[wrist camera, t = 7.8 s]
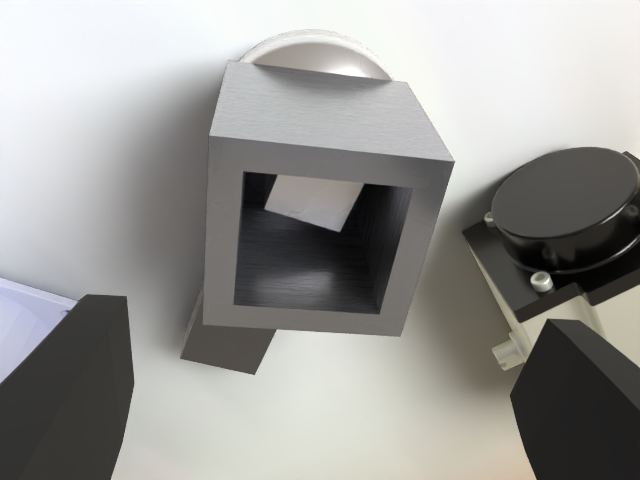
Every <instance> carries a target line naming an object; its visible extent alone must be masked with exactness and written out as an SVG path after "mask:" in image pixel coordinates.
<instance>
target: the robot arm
mask: <svg viewBox="0 0 640 480" xmlns="http://www.w3.org/2000/svg"><path fill="white" fill-rule="evenodd" d="M65 310H70V311H69V312H66V311H65ZM133 388H134V373H133V362H132V351H131V340H130V330H129V319H128V308H127V297H126V296H109V295H90V294H87V295H85V296H84V297H83V298H82V299H80V300H79V301H75V300H72V299H69V298H66V297H62V296H59V295H56V294H52V293H49V292H46V291H42V290H39V289H36V288H33V287H29V286H26V285H23V284H19V283H16V282H13V281H9V280H6V279H3V278H0V480H111V477H112V474H113V470H114V467H115V464H116V461H117V458H118V455H119V452H120V448H121V445H122V442H123V437H124V432H125V428H126V423H127V418H128V413H129V408H130V403H131V398H132V393H133ZM510 398H511V402H512V406H513V410H514V414H515V418H516V422H517V425H518V429H519V432H520V436H521V439H522V442H523V446H524V449H525V452H526V454H527V457H528V459H529V462H530V464H531V467H532V469H533V472H534V474H535V476H536V479H537V480H640V367H638V366H637V365H636V364H635V363H634V362H632V361H631V360H630V359H629V358H628V357H626V356H625V355H624V354H623V353H621V352H620V351H619V350H618V349H616V348H615V347H614V346H613V345H612V344H610V343H609V342H608V341H606V340H605V339H604V338H603V337H601V336H600V335H599V334H598V333H596V332H595V331H594V330H592V329H591V328H590V327H588V326H587V325H585V324H584V323H583V322H581V321H580V320H569V319H550V318H547V320H546V322H545V324H544V326H543V328H542V330H541V332H540V334H539V336H538V338H537V340H536V342H535V344H534V347H533V349H532V351H531V353H530V355H529V357H528V359H527V361H526V363H525V365H524V367H523V369H522V371H521V373H520V375H519V377H518V379H517V381H516V383H515V386H514V388H513V390H512V392H511V394H510Z"/></svg>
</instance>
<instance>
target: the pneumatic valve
mask: <svg viewBox="0 0 640 480" xmlns="http://www.w3.org/2000/svg"><path fill="white" fill-rule="evenodd" d="M462 234H463V236H464V238H465V240H466V242H467V244H468V246H469V248H470V250H471V252H472V254H473V255H474V257H475V259H476V261H477V263H478V265H479V267H480V269H481V271H482V273H483V275H484V277H485V279H486V281H487V283H488V285H489V287H490V289H491V291H492V293H493V294H494V296H495V298H496V300H497V302H498V304H499V306H500V308H501V310H502V312H503V314H504V316H505V318H506V320H507V322H508V324H509V326H510V328H511V330H512V332H510V333H509V336H510V338H511V339H510V340H508V341H506V342H504V343H502V344H500V345H498V346H495V347H493V348H492V351H493V353H494V355H495V357H496V359H497V360H498V362H499V364H500V366H501V368H502V369H503V370H504V371H506V370H508V369H510V368H512V367H515V366H517V365H519V364H521V363H523V362H524V363H526V361H527V359H528V357H529V355H530V353H531V351H532V349H533V347H534V344H535V342H536V340H537V338H538V336H539V334H540V332H541V330H542V328H543V326H544V324H545V322H546V320H547V318H550V319H569V320H580V321H581V322H583V323H584V324H585V325H587V326H588V327H590V328H591V329H592V330H594V331H595V332H596V333H598V334H599V335H600V336H601V337H603V338H604V339H605V340H606V341H608V342H609V343H610V344H612V345H613V346H614V347H615V348H616V349H618V350H619V351H620V352H621V353H623V354H624V355H625V356H626V357H628V358H629V359H630V360H631V361H632V362H634V363H635V364H636V365H637V366H638V367H640V160H639V159H638V158H636V157H635V156H633V155H632V154H630V153H629V152H627V151H626V152H624V153H619V152H617V151H614V150H610V149H607V148H599V147H578V148H571V149H566V150H561V151H558V152H554V153H551V154H548V155H545V156H543V157H540V158H538V159H536V160H534V161H532V162H530V163H528V164H526V165H524V166H523V167H521V168H520V169H518V170H517V171H516V172H514V173H513V174H512V175H511V176H509V177H508V178H507V179H506V180H505V181H504V182H503V183H502V185H501V186H500V187H499V189H498V190H497V192H496V193H495V196H494V198H493V201H492V205H491V211H490V212H488V213H486V214H485V216H484V220H483V221H481V222H479V223H477V224H475V225H473V226H471V227H469V228H468V229H466V230H464V231H463V232H462Z"/></svg>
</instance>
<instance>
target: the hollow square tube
mask: <svg viewBox="0 0 640 480" xmlns="http://www.w3.org/2000/svg"><path fill="white" fill-rule="evenodd" d="M454 163H455V161H454V159H453V157H452V156H451V154H450V153H449V151H448V149H447V148H446V146H445V144H444V143H443V141H442V139H441V138H440V136H439V134H438V133H437V131H436V129H435V128H434V126H433V125H432V123H431V121H430V120H429V118H428V116H427V115H426V113H425V111H424V110H423V108H422V106H421V105H420V103H419V101H418V100H417V98H416V97H415V95H414V93H413V92H412V90H411V88H410V87H409V85H408V83H407V82H399V81H391V80H383V79H375V78H367V77H359V76H351V75H343V74H335V73H327V72H319V71H311V70H303V69H295V68H287V67H279V66H271V65H263V64H255V63H247V62H239V61H231V60H228V62H227V66H226V70H225V74H224V78H223V82H222V86H221V90H220V94H219V98H218V102H217V106H216V110H215V113H214V117H213V121H212V125H211V129H210V133H209V150H208V180H207V211H206V241H205V272H204V302H203V325H214V326H231V327H248V328H265V329H281V330H298V331H315V332H332V333H349V334H365V335H382V336H399V337H400V336H401V333H402V330H403V326H404V323H405V320H406V317H407V314H408V310H409V307H410V304H411V301H412V298H413V294H414V291H415V288H416V285H417V281H418V278H419V275H420V272H421V269H422V265H423V262H424V259H425V256H426V253H427V249H428V246H429V243H430V240H431V237H432V233H433V230H434V227H435V224H436V221H437V217H438V214H439V211H440V208H441V205H442V201H443V198H444V195H445V192H446V189H447V185H448V182H449V179H450V176H451V173H452V169H453V166H454ZM246 171H247V172H257V173H267V174H277V175H288V176H298V177H308V178H318V179H328V180H338V181H349V182H359V183H364V185H363V187H362V189H361V191H360V193H359V195H358V200H357V205H356V209H355V210H351V211H350V213H349V215H348V217H347V219H346V221H345V223H344V225H343V227H342V229H341V231H340V232H338V231H334V230H331V229H328V228H325V227H321V226H318V225H315V224H311V223H308V222H305V221H302V220H298V219H295V218H292V217H289V216H285V215H282V214H279V213H276V212H272V211H269V210H266V209H264V202H261V201H250V200H244V188H245V175H246Z"/></svg>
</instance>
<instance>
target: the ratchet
mask: <svg viewBox="0 0 640 480" xmlns="http://www.w3.org/2000/svg"><path fill="white" fill-rule="evenodd" d="M239 62H247V63H255V64H263V65H271V66H279V67H287V68H295V69H303V70H311V71H319V72H327V73H335V74H343V75H351V76H359V77H367V78H375V79H383V80H391V81H394V79H393V77H392V76H391V74H390V72H389V71H388V69H387V67H386V66H385V65H384V64H383V63H382V61H381V60H380V59H379V58H378V57H377V56H376V55H375V54H374V53H373V52H372V51H370V50H369V49H368V48H366V47H365V46H364V45H362V44H361V43H359V42H357V41H355V40H353V39H351V38H349V37H347V36H344V35H341V34H338V33H335V32H330V31H324V30H311V29H307V30H296V31H291V32H287V33H282V34H279V35H277V36H274V37H272V38H269V39H267V40H265V41H264V42H262V43H260V44H258V45H257V46H255V47H254V48H253V49H251V50H250V51H248V52H247V53H246V54H245V55H244V56H243V57H242V58H241V59H240V60H239ZM363 185H364V183H359V182H349V181H338V180H328V179H318V178H308V177H298V176H288V175H277V174H267V173H257V172H247V171H246V175H245V188H244V200H250V201H261V202H264V209H266V210H269V211H272V212H276V213H279V214H282V215H285V216H289V217H292V218H295V219H298V220H302V221H305V222H308V223H311V224H315V225H318V226H321V227H325V228H328V229H331V230H334V231H338V232H340V231H341V229H342V227H343V225H344V223H345V221H346V219H347V217H348V215H349V213H350V211H351V210H355V209H356V205H357V200H358V195H359V193H360V191H361V189H362V187H363ZM203 302H204V281H203V284H202V287H201V289H200V292H199V295H198V298H197V300H196V303H195V306H194V309H193V311H192V314H191V317H190V320H189V322H188V325H187V328H186V331H185V336H184V341H183V346H182V351H181V357H180V359H184V360H189V361H193V362H198V363H203V364H207V365H212V366H216V367H221V368H225V369H230V370H234V371H239V372H243V373H248V374H253V375H255V373H256V371H257V369H258V367H259V365H260V363H261V361H262V359H263V357H264V355H265V353H266V351H267V348H268V346H269V344H270V342H271V340H272V338H273V336H274V334H275V332H276V330H277V329H265V328H248V327H231V326H214V325H203Z"/></svg>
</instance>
